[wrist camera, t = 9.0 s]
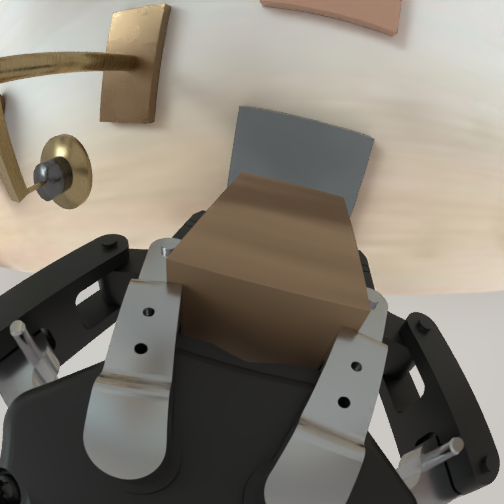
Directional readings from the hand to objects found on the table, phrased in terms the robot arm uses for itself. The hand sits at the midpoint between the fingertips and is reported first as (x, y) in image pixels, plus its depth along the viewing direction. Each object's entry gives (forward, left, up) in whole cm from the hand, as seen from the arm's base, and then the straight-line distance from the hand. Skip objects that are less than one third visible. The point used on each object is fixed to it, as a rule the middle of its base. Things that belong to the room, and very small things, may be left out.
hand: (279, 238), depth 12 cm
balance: (-8, -14, -9) cm, 18 cm away
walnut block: (0, 0, -1) cm, 1 cm away
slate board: (0, 0, -9) cm, 9 cm away
